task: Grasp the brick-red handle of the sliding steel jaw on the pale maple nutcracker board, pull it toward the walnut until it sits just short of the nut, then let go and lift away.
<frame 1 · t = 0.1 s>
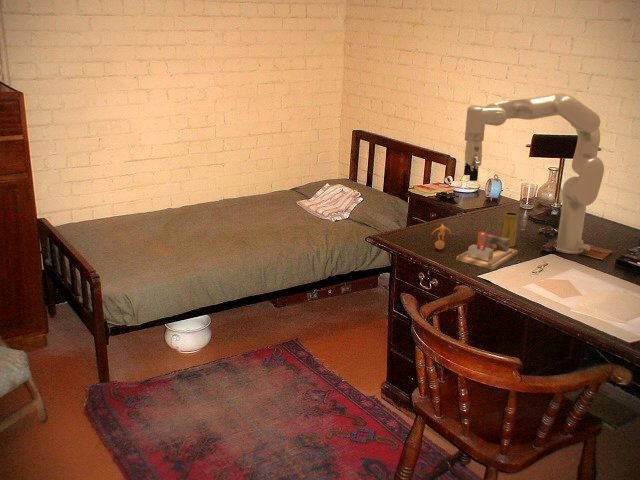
hand: (470, 177, 272), 31 cm above the table, tool pointing down, fingers open, 9 cm apart
vase: (507, 245, 288), on the table
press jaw: (481, 245, 266), point 7 cm above the table, slide at 0.0 cm
nutcracker base: (487, 256, 273), on the table
figurine: (439, 250, 280), on the table
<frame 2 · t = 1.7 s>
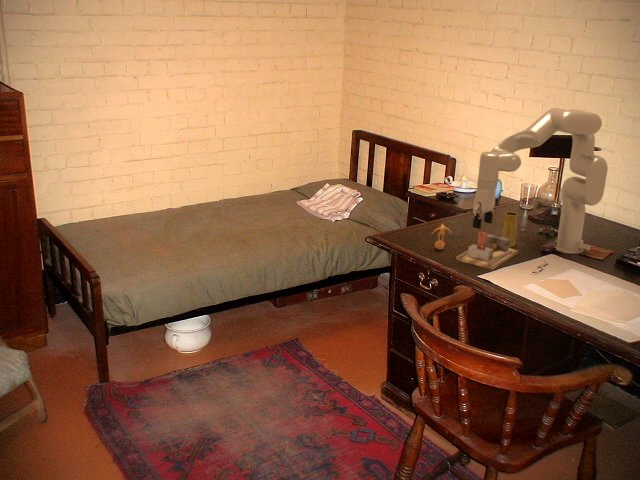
hand: (482, 225, 263), 16 cm above the table, tool pointing down, fingers open, 9 cm apart
nothing on the table moved.
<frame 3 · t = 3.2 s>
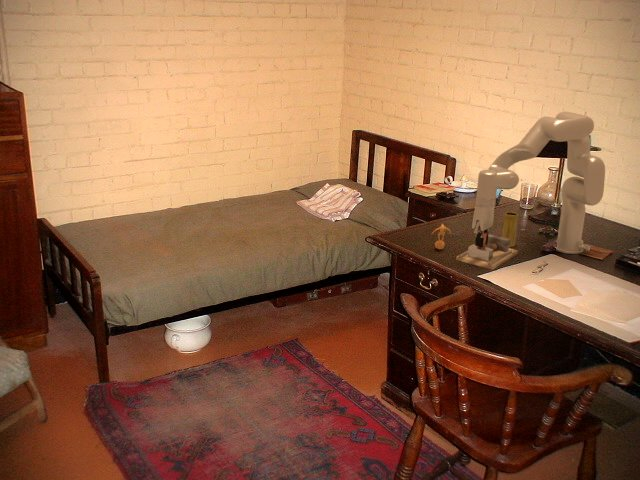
hand: (481, 244, 265), 7 cm above the table, tool pointing down, fingers closed on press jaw, 3 cm apart
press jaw: (481, 245, 266), point 7 cm above the table, slide at 0.0 cm, touching gripper
everything else where it was.
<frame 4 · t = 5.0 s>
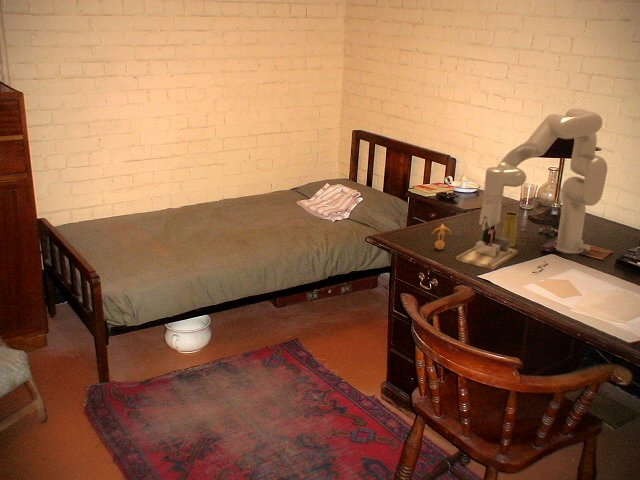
hand: (488, 240, 270), 7 cm above the table, tool pointing down, fingers closed on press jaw, 3 cm apart
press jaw: (488, 241, 270), point 7 cm above the table, slide at 6.4 cm, touching gripper
everything else where it was.
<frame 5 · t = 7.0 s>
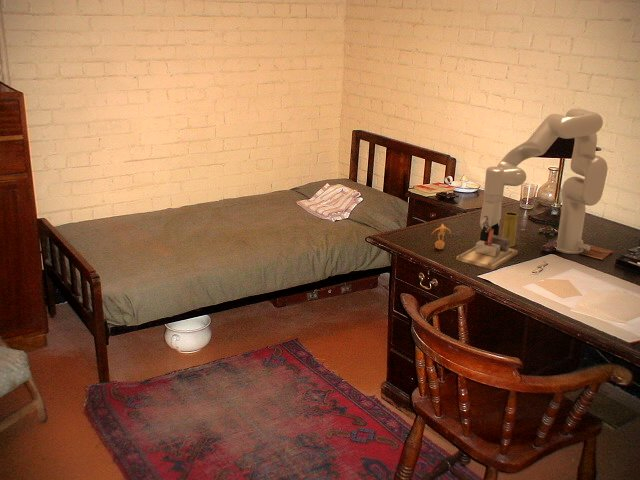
hand: (489, 237, 270), 9 cm above the table, tool pointing down, fingers open, 9 cm apart
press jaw: (488, 241, 270), point 7 cm above the table, slide at 6.5 cm
everything else where it was.
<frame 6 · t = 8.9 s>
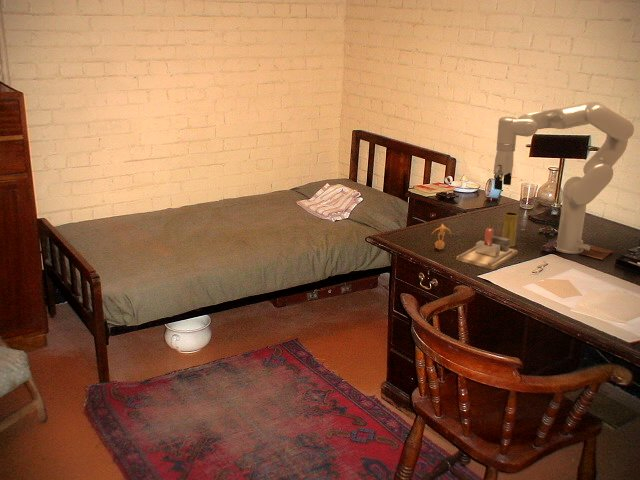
hand: (502, 187, 279), 26 cm above the table, tool pointing down, fingers open, 9 cm apart
nothing on the table moved.
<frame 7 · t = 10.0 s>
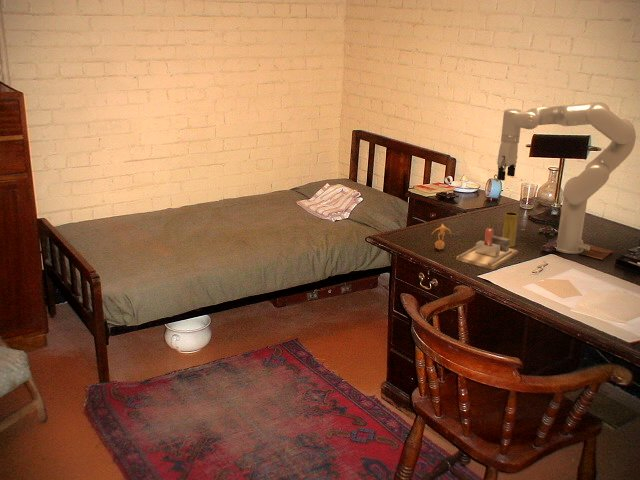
hand: (505, 177, 285), 28 cm above the table, tool pointing down, fingers open, 9 cm apart
nothing on the table moved.
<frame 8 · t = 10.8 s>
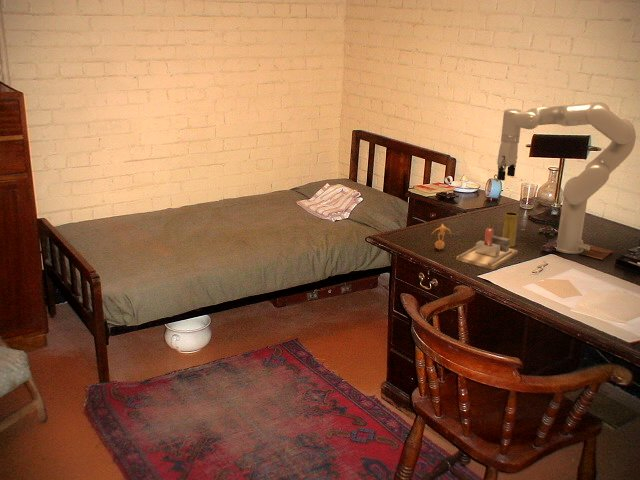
hand: (505, 177, 285), 28 cm above the table, tool pointing down, fingers open, 9 cm apart
nothing on the table moved.
at the end: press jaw slide at 6.5 cm; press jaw touching nothing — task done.
